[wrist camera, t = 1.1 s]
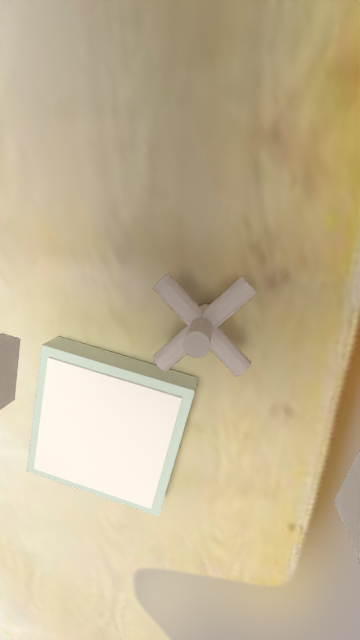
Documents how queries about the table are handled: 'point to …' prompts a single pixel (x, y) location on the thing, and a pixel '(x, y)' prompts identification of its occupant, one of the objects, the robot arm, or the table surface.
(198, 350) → the pipe connector
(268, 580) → the table surface
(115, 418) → the stand
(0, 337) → the robot arm
